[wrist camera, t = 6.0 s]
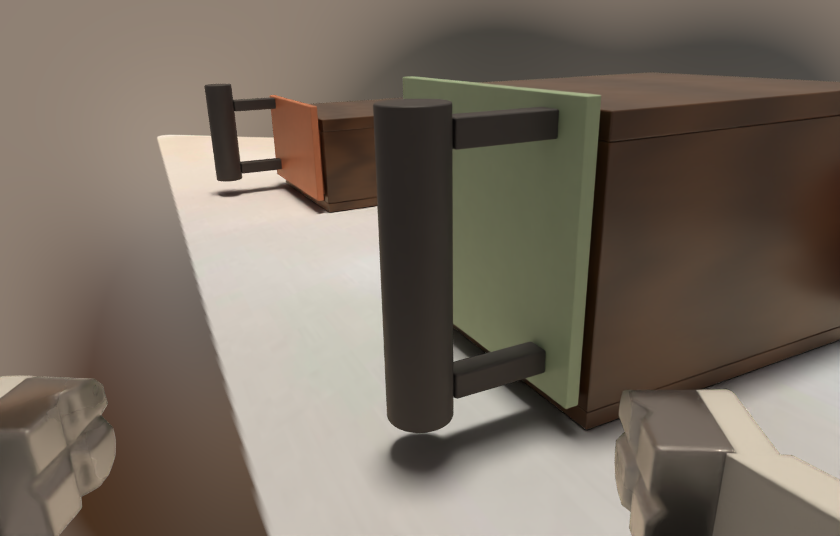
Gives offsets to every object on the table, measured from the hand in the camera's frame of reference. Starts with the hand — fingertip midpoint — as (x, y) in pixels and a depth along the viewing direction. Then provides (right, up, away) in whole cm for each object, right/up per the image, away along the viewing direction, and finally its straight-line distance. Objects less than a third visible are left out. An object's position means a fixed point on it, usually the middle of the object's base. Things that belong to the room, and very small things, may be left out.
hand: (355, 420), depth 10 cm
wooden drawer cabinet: (+11, 0, +24) cm, 26 cm away
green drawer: (+8, 0, +21) cm, 23 cm away
